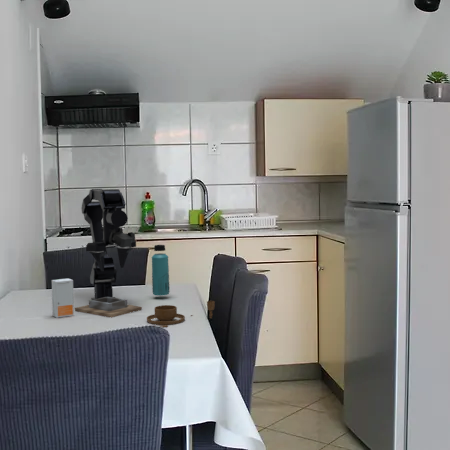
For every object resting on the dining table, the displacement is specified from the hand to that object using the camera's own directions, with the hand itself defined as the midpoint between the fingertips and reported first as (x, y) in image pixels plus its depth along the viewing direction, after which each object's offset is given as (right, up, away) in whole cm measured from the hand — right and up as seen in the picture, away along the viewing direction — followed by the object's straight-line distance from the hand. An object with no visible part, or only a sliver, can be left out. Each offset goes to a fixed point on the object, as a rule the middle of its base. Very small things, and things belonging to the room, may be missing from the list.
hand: (112, 269), depth 215 cm
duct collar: (0, -14, -6) cm, 15 cm away
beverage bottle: (+16, -12, +15) cm, 24 cm away
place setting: (+25, -15, -23) cm, 37 cm away
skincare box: (-14, -15, -14) cm, 24 cm away
